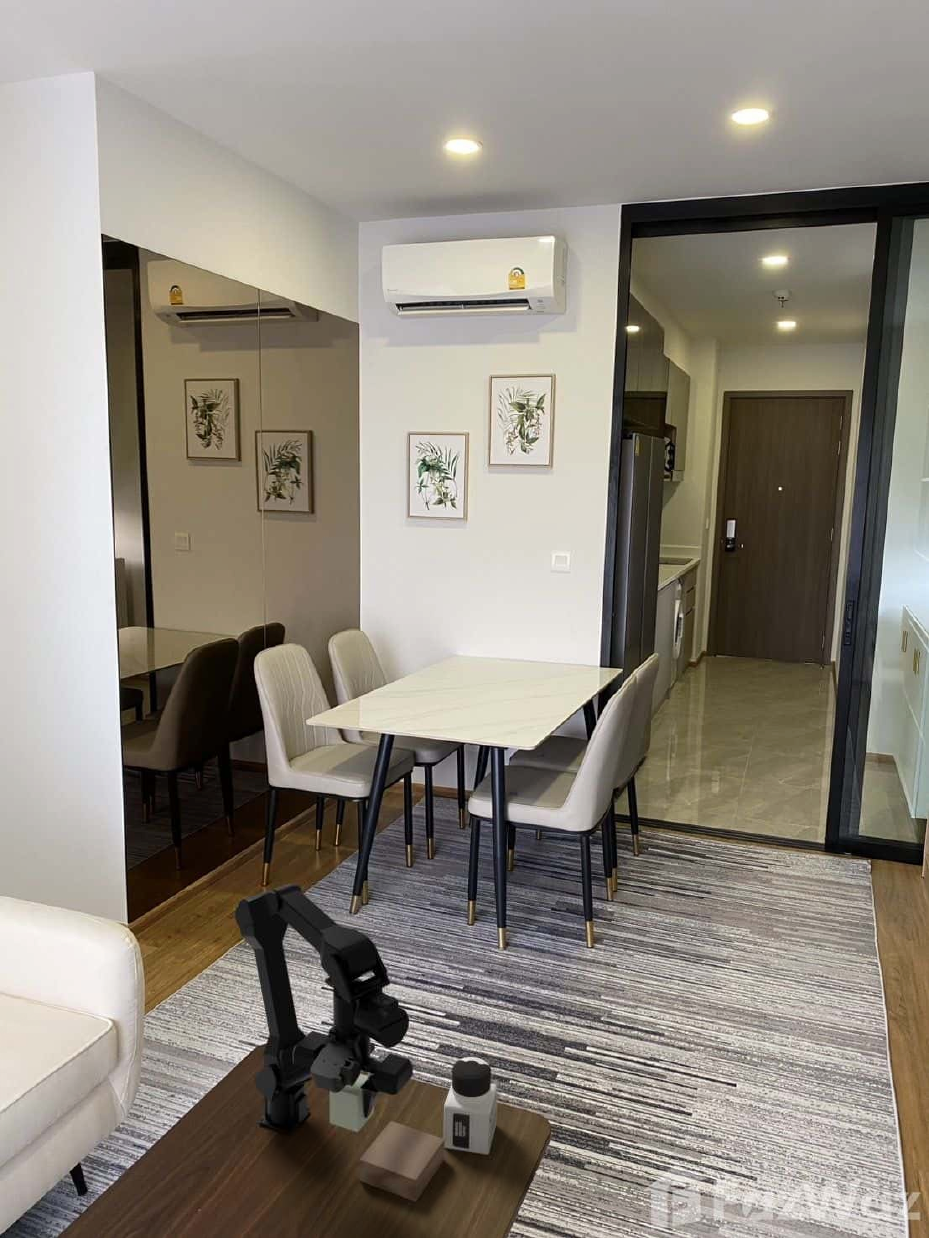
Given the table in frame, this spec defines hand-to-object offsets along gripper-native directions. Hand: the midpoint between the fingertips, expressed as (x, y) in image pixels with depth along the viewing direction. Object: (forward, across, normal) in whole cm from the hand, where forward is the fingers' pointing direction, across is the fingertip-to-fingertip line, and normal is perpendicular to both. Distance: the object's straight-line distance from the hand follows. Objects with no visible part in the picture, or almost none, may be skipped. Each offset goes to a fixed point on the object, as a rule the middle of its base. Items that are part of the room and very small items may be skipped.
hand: (352, 1111), depth 145 cm
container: (+12, +13, +17) cm, 24 cm away
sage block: (+1, 0, 0) cm, 1 cm away
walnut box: (+12, +6, +5) cm, 14 cm away
